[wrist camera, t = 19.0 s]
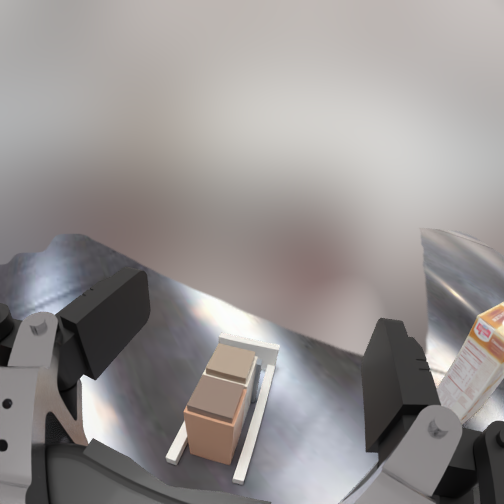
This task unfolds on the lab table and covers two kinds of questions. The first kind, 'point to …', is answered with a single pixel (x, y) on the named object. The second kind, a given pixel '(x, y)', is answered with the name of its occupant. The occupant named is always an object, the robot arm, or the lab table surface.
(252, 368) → the cream canister
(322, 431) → the lab table surface
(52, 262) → the lab table surface
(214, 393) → the terracotta canister
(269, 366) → the lane
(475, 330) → the coffeecake box
